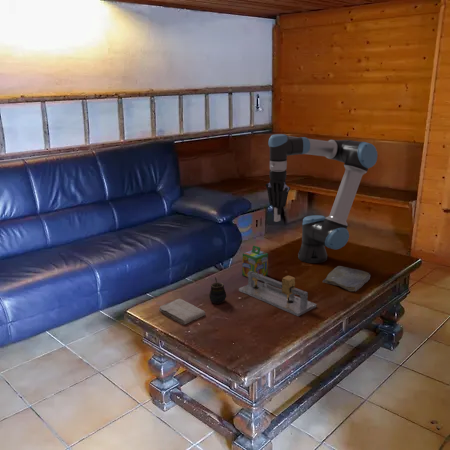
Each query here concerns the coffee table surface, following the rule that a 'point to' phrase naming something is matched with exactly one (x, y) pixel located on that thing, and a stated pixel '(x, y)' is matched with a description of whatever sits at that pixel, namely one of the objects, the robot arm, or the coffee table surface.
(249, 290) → the trammel beam
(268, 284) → the combination wrench
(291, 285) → the block
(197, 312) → the washcloth
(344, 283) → the grey stone slab
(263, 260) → the chalk box
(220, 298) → the mate gourd
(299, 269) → the coffee table surface
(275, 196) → the robot arm
